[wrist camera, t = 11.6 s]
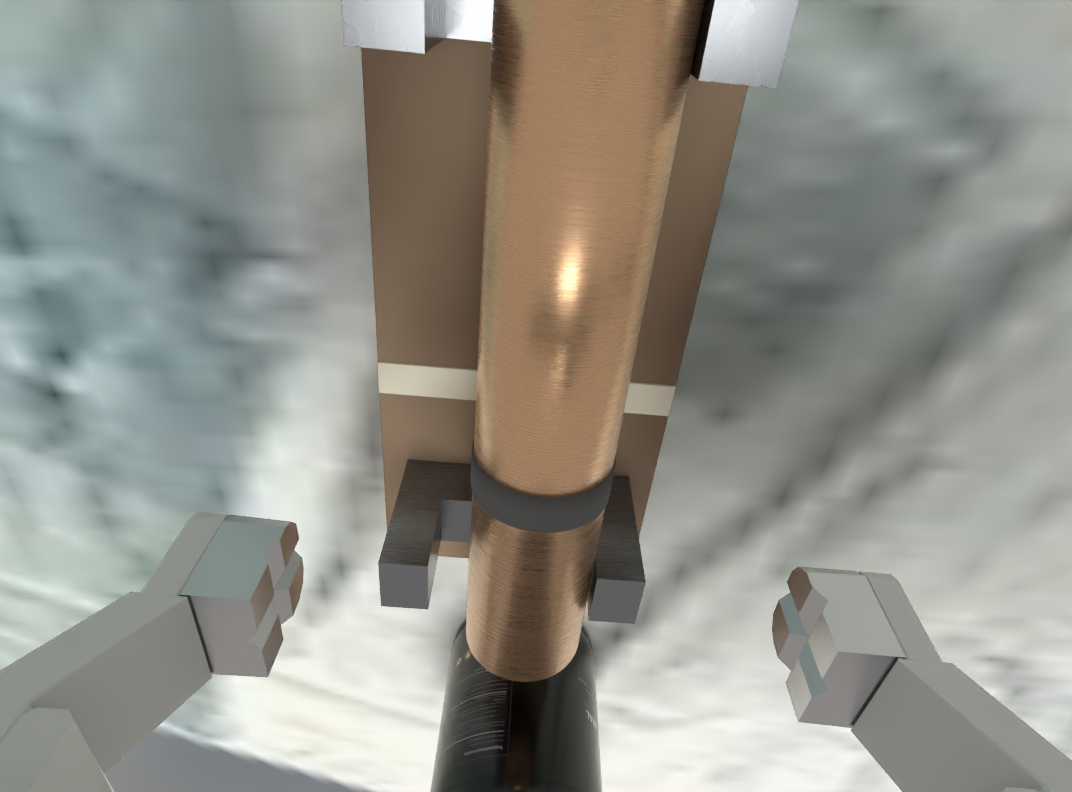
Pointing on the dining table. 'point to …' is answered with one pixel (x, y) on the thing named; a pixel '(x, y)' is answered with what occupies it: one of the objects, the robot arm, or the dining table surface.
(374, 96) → the cradle board
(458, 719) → the supplement bottle
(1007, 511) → the dining table surface
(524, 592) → the copper tube
